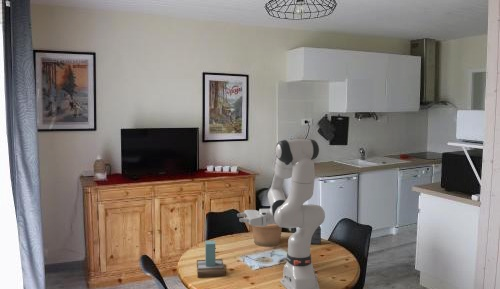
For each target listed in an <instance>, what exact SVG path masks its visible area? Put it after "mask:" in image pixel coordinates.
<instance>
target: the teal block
mask: <svg viewBox="0 0 500 289" xmlns="http://www.w3.org/2000/svg"><path fill="white" fill-rule="evenodd" d="M204 242H205V243H204V244H205V246H204V247H205V254H204V255H205V256H204V260H205V263H206V266H215V259H216V240H205V241H204Z"/></svg>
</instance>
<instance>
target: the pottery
mask: <svg viewBox="0 0 500 289" xmlns="http://www.w3.org/2000/svg"><path fill="white" fill-rule="evenodd" d="M251 227H252V236H253V243H254V244H255V245H256V246H260V247H265V248H267V247H276V246H278V245H279V244H280V242H281V237H282V230H283V227H279V226H278V225H277V224H269V225H267V226H266V227H263V226H251Z"/></svg>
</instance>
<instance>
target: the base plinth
mask: <svg viewBox="0 0 500 289" xmlns="http://www.w3.org/2000/svg"><path fill="white" fill-rule="evenodd" d="M196 272H197V275H196V276H197V278H208V277H209V278H211V277H226V270H225V265H224V261H223V258H215V266H206V263H205V259H197V260H196Z"/></svg>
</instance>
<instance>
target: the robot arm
mask: <svg viewBox="0 0 500 289" xmlns="http://www.w3.org/2000/svg"><path fill="white" fill-rule="evenodd" d="M274 151H275V157H276V160H275V165H274V172H273V177H272V180H271V184H270V185H269V186H268V188H267V190H266V193H265V196H266V198H267V200H268V203H269V206H270V207H269V208H259V210H256V209H245V210H244V211H243V212H239V213H237V214H236V216H237V218H239V222H240V223H248V225H249V226H250V227H252V226H263V227H266V226H267V225H269V224H277V225H278V226H279V227H282V229H283V228H285V229H294V228H298V229H297V230H296V231H295V232H294V233H292V234H291V235H290V236H288V240H287V253H286V263H285V264H284V265H283V273H282V275H283V276H282V277H283V278H281V279H280V280H279V282H280V284H281V285H282V286H283V287H284V288H286V289H320V288H321V287H320V285H319V282H318V279H319V278H318V277H319V275H318V273H315V272H316V268H314V266H313V263H312V254H311V245H312V244H311V239H312V236H313V234H314V232H315V230H316V229H317V228H318V227H319V226H320V227H321V225H323V223H324V221H325V219H326V213H325V210H324V208H323V207H322V206H321V205H318V204H313V203H310V204H305V203H306V202H307V201H309V200H310V199H311V198H312V197H313V195H314V190H315V178H316V175H315V173H316V170H315V162H314V161H313V160H315V159H317V157H318V156H319V153H320V147H319V143H318V142H317V141H316V140H314V139H310V138H306V139H304V138H292V139H283V140H279V141H278V142H277V143H276V144H275V149H274ZM287 179H290V187H289V188H290V189H289V194H288V196H287V198H286V194H285V192H284V188H283V185H284V182H285V180H287Z"/></svg>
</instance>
